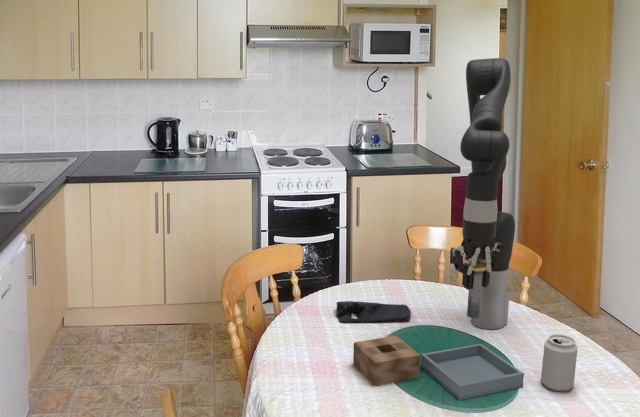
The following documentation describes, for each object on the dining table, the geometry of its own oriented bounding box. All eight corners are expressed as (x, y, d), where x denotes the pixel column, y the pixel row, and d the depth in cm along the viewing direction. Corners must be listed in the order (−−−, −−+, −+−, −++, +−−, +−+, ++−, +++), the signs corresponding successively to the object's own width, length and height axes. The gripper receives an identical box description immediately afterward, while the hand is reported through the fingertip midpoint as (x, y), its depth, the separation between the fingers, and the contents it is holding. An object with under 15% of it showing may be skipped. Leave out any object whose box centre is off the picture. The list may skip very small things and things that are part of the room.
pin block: (395, 357, 187) (396, 335, 186) (418, 377, 176) (420, 354, 175) (353, 364, 183) (353, 342, 181) (374, 386, 172) (375, 362, 170)
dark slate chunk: (412, 327, 207) (413, 312, 206) (334, 324, 208) (335, 309, 207) (409, 307, 222) (410, 292, 220) (337, 304, 223) (337, 290, 222)
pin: (475, 311, 176) (479, 261, 173) (486, 318, 172) (490, 267, 169) (460, 313, 175) (463, 263, 171) (470, 320, 171) (474, 269, 167)
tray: (480, 356, 188) (481, 343, 187) (522, 386, 173) (524, 373, 172) (420, 367, 182) (421, 354, 181) (459, 400, 166) (460, 386, 165)
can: (535, 378, 177) (540, 332, 174) (565, 377, 178) (570, 331, 175) (547, 393, 170) (552, 346, 167) (578, 392, 170) (584, 345, 167)
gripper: (496, 210, 173) (491, 278, 178) (444, 215, 168) (440, 285, 172) (515, 218, 167) (510, 289, 171) (462, 223, 161) (457, 296, 166)
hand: (475, 286), depth 172 cm, fingers closed on pin, 4 cm apart
